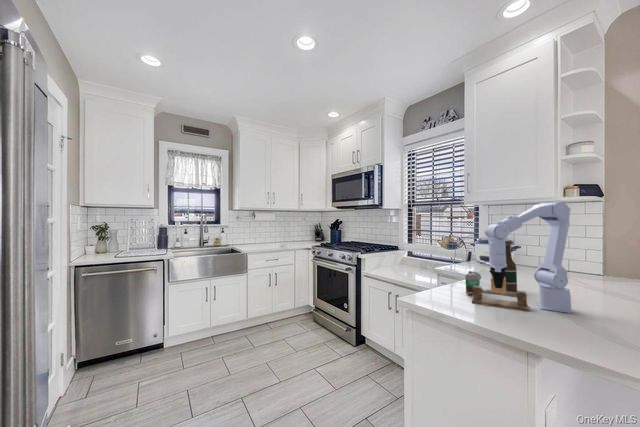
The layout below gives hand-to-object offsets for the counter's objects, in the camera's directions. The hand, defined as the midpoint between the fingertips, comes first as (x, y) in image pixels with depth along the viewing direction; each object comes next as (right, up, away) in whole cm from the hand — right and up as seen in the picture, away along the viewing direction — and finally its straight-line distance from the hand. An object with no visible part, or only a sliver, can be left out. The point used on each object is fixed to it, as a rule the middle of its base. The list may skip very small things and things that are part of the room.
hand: (498, 286), depth 106 cm
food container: (+4, -10, +23) cm, 25 cm away
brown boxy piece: (+5, -10, +7) cm, 13 cm away
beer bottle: (+23, -10, +26) cm, 36 cm away
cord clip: (0, -2, 0) cm, 2 cm away
